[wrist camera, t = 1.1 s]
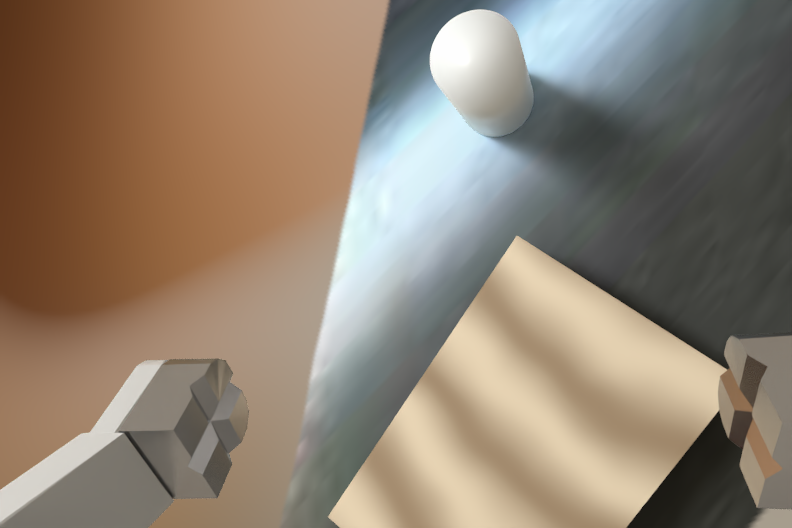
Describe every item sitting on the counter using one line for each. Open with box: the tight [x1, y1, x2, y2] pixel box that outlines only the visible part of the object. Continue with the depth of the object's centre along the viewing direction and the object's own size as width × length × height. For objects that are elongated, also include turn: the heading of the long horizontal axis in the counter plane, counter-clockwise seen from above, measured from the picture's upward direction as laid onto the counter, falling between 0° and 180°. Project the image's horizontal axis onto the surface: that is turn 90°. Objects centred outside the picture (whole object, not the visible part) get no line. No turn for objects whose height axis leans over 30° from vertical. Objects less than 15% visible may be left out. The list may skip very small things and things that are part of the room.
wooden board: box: [328, 236, 727, 528], centre depth 35 cm, size 22×14×5 cm, turn 146°
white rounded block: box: [430, 10, 534, 137], centre depth 35 cm, size 5×5×8 cm
